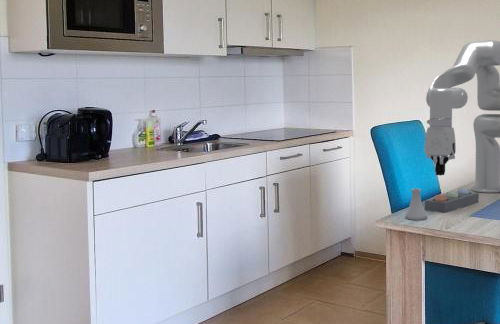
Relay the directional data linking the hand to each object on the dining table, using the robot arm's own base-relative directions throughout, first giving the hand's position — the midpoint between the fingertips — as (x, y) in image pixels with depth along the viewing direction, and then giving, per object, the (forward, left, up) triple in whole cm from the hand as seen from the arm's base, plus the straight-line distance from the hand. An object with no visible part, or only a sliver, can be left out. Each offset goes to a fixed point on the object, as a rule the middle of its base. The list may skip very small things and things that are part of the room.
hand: (440, 174), depth 221 cm
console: (-8, +1, -13) cm, 15 cm away
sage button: (-8, +1, -11) cm, 14 cm away
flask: (+17, -2, -13) cm, 21 cm away
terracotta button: (-1, 0, -11) cm, 11 cm away
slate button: (-16, +3, -11) cm, 20 cm away
